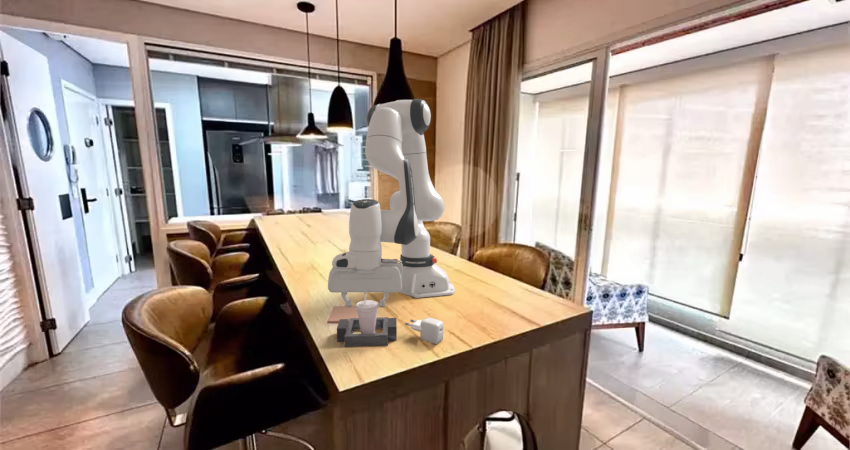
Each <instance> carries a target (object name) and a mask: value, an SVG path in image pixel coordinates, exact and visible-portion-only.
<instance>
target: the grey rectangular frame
mask: <svg viewBox="0 0 850 450" xmlns="http://www.w3.org/2000/svg"><path fill="white" fill-rule="evenodd" d="M397 328H398V327H397V317H388V316H385V317H378V316H377V317H376V326H375V330H382V332H375V333H364V334H361V333H354V331H355V330H360V325H359V318H349V322H348V319H340V321H339V323H337V327H336V342H337V343H344V348H349V347H354V348H355V347H377V346H378V347H379V346H388V345H389V341H397V337H398V336H397V333H398V332H397Z"/></svg>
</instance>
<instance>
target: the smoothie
mask: <svg viewBox="0 0 850 450" xmlns="http://www.w3.org/2000/svg"><path fill="white" fill-rule="evenodd" d="M363 296H364V297H363V299H364V300H362V301H361V300H360V301H359V302H357V303H356V304H355V306H356V309H357V311H358V318H359V325H360V329H359V330H360V334H364V333H376V329H375V326H376V318H377V317H378V316H377V315H378V309H379V308H380V305H379V302H378V301H376V300H371V299H367V292H363Z"/></svg>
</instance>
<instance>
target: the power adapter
mask: <svg viewBox="0 0 850 450" xmlns="http://www.w3.org/2000/svg"><path fill="white" fill-rule="evenodd" d="M410 322H411V323H409V322H405V323H404V324H405V326H408V327H411V329H412V330H413V331H417V332H420V334H419V335H420V339H421V341H424V342H426V343H430V344H434V345H438V344H440V343H441V342H442V341H443V340H444V322H443V321H442V320H440V319H437V318H432V317H428V316H427V317H425V318H424V319H417V320H415V319H410Z"/></svg>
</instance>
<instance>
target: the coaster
mask: <svg viewBox="0 0 850 450" xmlns="http://www.w3.org/2000/svg"><path fill="white" fill-rule="evenodd" d="M349 318H358V311H357V309H356V305H351V307H345V305H333V307H332V309H331V312H330V314H329V316H328V318H327V321H326V324H328V325H330V324H338V323H339V321H340V319H348V322H349Z"/></svg>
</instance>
